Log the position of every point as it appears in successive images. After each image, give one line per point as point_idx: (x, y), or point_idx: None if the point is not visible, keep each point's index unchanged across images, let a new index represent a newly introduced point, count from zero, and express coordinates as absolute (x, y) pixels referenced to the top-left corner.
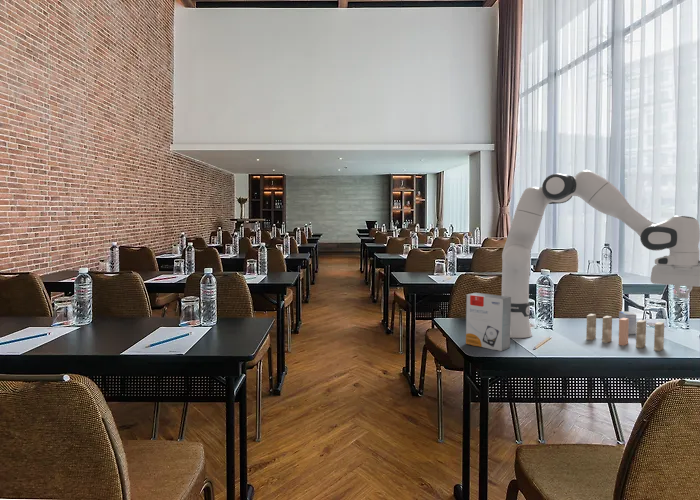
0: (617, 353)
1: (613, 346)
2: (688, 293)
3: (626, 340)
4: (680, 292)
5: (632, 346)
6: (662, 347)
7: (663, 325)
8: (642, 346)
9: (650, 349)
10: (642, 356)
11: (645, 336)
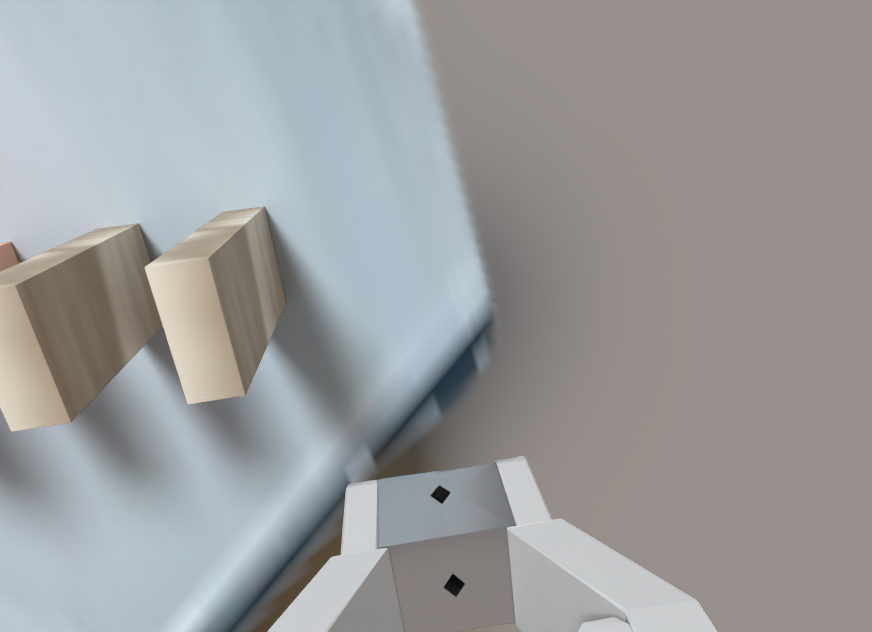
0: (166, 555)
1: None
2: (551, 524)
3: None
4: (395, 606)
5: None
6: (269, 244)
7: (223, 284)
8: None
9: None
10: (286, 509)
11: (106, 248)
